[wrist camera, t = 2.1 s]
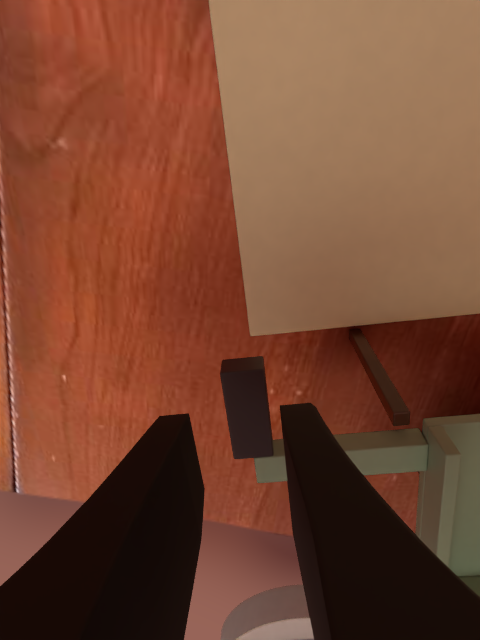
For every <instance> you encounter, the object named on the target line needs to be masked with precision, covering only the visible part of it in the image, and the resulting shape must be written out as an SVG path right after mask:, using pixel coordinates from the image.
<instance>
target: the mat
mask: <svg viewBox="0 0 480 640" xmlns="http://www.w3.org/2000/svg"><path fill="white" fill-rule="evenodd" d="M209 8H210V16H211V25H212V33H213V41H214V49H215V57H216V65H217V73H218V81H219V89H220V97H221V105H222V113H223V121H224V129H225V137H226V145H227V153H228V161H229V169H230V177H231V185H232V193H233V201H234V209H235V217H236V226H237V234H238V242H239V250H240V258H241V266H242V274H243V282H244V290H245V298H246V306H247V314H248V322H249V330H250V336H260V335H270V334H280V333H290V332H300V331H310V330H320V329H330V328H340V327H350V326H360V325H370V324H380V323H390V322H400V321H410V320H420V319H430V318H440V317H450V316H460V315H470V314H480V0H209Z"/></svg>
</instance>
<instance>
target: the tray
mask: <svg viewBox="0 0 480 640" xmlns="http://www.w3.org/2000/svg"><path fill="white" fill-rule="evenodd" d="M220 377H221V383H222V389H223V395H224V401H225V407H226V414H227V420H228V426H229V432H230V438H231V444H232V450H233V456H234V459H244V458H254V462H255V470H256V477H257V482H258V483H267V482H280V481H287V472H286V462H285V452H284V442H283V439H277V440H273V438H272V430H271V421H270V412H269V403H268V394H267V385H266V377H265V368H264V359H263V357H262V356H258V357H247V358H237V359H227V360H222V364H221V371H220ZM333 436H334V437H335V439H336V440H337V442H338V443H339V444H340V446H341V447H342V449H343V450H344V451H345V453H346V454H347V455H348V457H349V458H350V459H351V460H352V462H353V463H354V464H355V465H356V467H357V468H358V469H359V470H360V472H361V473H362V474H363V475H375V474H388V473H402V472H415V471H420V474H419V489H418V504H417V519H416V535H417V536H418V538H419V539H420V540H421V541H422V542H423V543H424V544H425V545H426V546H427V547H428V548H429V549H430V550H431V551H432V552H433V553H434V554H435V555H436V556H437V557H438V558H439V559H440V560H441V561H442V562H443V563H444V564H445V565H446V566H447V567H448V568H450V569H451V570H452V571H453V572H454V573H455V574H456V575H457V576H458V577H459V578H460V579H461V580H462V581H463V582H464V583H465V584H466V585H467V586H468V587H469V588H470V589H472V590H473V591H474V592H475V593H476V594H477V595H478V596H479V597H480V414H471V415H459V416H447V417H435V418H424V419H423V429H422V433H421V431H420V429H419V428H412V429H400V430H388V431H375V432H363V433H351V434H338V435H333Z"/></svg>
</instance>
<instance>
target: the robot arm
mask: <svg viewBox="0 0 480 640" xmlns="http://www.w3.org/2000/svg"><path fill="white" fill-rule="evenodd" d="M280 412H281V422H282V432H283V442H284V452H285V462H286V472H287V482H288V491H289V501H290V510H291V519H292V529H293V536H294V541H295V546H296V551H297V556H298V561H299V566H300V571H301V576H302V581H303V586H304V591H305V596H306V601H307V606H308V611H309V616H310V621H311V626H312V631H313V636H314V639H304V640H480V597H479V596H478V595H477V594H476V593H475V592H474V591H473V590H472V589H470V588H469V587H468V586H467V585H466V584H465V583H464V582H463V581H462V580H461V579H460V578H459V577H458V576H457V575H456V574H455V573H454V572H453V571H452V570H451V569H450V568H448V567H447V566H446V565H445V564H444V563H443V562H442V561H441V560H440V559H439V558H438V557H437V556H436V555H435V554H434V553H433V552H432V551H431V550H430V549H429V548H428V547H427V546H426V545H425V544H424V543H423V542H422V541H421V540H420V539H419V538H418V536H417V535H416V534H415V533H414V532H413V531H412V530H411V529H410V528H409V527H408V526H407V525H406V524H405V523H404V522H403V520H402V519H401V518H400V517H399V516H398V515H397V514H396V513H395V512H394V510H393V509H392V508H391V507H390V506H389V505H388V504H387V503H386V502H385V500H384V499H383V498H382V497H381V496H380V495H379V494H378V492H377V491H376V490H375V489H374V488H373V486H372V485H371V484H370V483H369V482H368V480H367V479H366V478H365V477H364V475H363V474H362V473H361V472H360V470H359V469H358V468H357V467H356V465H355V464H354V463H353V462H352V460H351V459H350V458H349V457H348V455H347V454H346V453H345V451H344V450H343V449H342V447H341V446H340V444H339V443H338V442H337V440H336V439H335V437H334V436H333V434H332V433H331V431H330V430H329V428H328V427H327V425H326V424H325V422H324V421H323V419H322V417H321V416H320V414H319V412H318V410H317V408H316V407H315V406H314V405H312V404H311V403H304V404H292V405H281V406H280ZM203 506H204V485H203V480H202V475H201V470H200V465H199V461H198V456H197V451H196V446H195V441H194V436H193V432H192V427H191V422H190V417H189V414H178V415H166V416H159V418H158V419H157V420H156V421H155V422H154V423H153V424H152V426H151V427H150V428H149V429H148V430H147V431H146V433H145V434H144V435H143V436H142V437H141V438H140V440H139V441H138V442H137V443H136V444H135V446H134V447H133V448H132V449H131V450H130V452H129V453H128V454H127V455H126V456H125V458H124V459H123V460H122V461H121V462H120V463H119V465H118V466H117V467H116V468H115V469H114V470H113V472H112V473H111V474H110V475H109V476H108V477H107V478H106V480H105V481H104V482H103V483H102V484H101V485H100V486H99V487H98V489H97V490H96V491H95V492H94V493H93V494H92V495H91V497H90V498H89V499H88V500H87V501H86V502H85V503H84V504H83V505H82V506H81V507H80V508H79V509H78V510H77V511H76V512H75V514H74V515H73V516H72V517H71V518H70V519H69V520H68V521H67V522H66V523H65V524H64V525H63V526H62V527H61V528H60V530H58V532H56V534H55V535H54V536H53V537H52V538H51V539H50V540H49V541H48V542H47V543H46V544H45V545H44V546H43V547H42V548H41V549H40V550H39V551H38V552H37V553H36V554H35V555H34V556H32V557H31V559H29V560H28V561H27V562H26V563H25V564H24V565H23V566H22V567H21V568H20V569H19V570H18V571H17V572H16V573H14V574H13V575H12V576H11V577H10V578H9V579H8V580H7V581H6V582H5V583H3V585H1V586H0V640H184V635H185V630H186V624H187V618H188V612H189V607H190V601H191V596H192V590H193V584H194V579H195V572H196V567H197V561H198V556H199V550H200V544H201V536H202V522H203Z"/></svg>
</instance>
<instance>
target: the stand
mask: <svg viewBox="0 0 480 640" xmlns="http://www.w3.org/2000/svg"><path fill="white" fill-rule="evenodd" d="M349 340H350V342H351V344H352V346H353V347H354V349H355V351H356V353H357V355H358V357H359V359H360V361H361V363H362V365H363V367H364V369H365V371H366V373H367V375H368V377H369V379H370V381H371V383H372V385H373V387H374V389H375V391H376V393H377V395H378V397H379V398H380V400H381V402H382V404H383V406H384V408H385V410H386V412H387V414H388V416H389V418H390V420H391V422H392V424H393V426H401V425H409V423H410V411H409V410H408V408H407V406H406V405H405V403H404V401H403V400H402V398H401V396H400V395H399V393H398V391H397V389H396V388H395V386H394V384H393V383H392V381H391V379H390V378H389V376H388V374H387V373H386V371H385V369H384V368H383V366H382V364H381V363H380V361H379V359H378V358H377V356H376V354H375V353H374V351H373V349H372V348H371V346H370V344H369V343H368V341H367V339H366V338H365V336H364V334H363V333H362V331H361V329H351V330H349ZM418 473H419V474H420V471H418Z"/></svg>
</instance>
